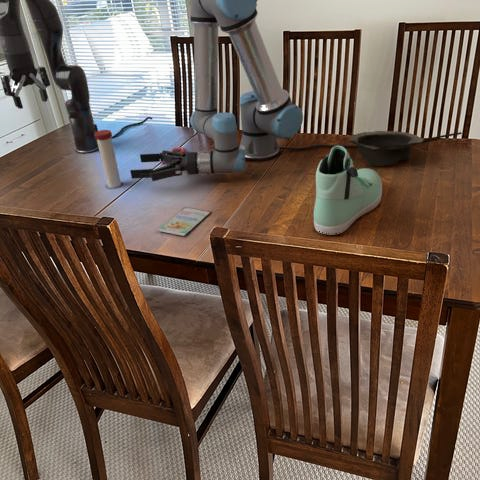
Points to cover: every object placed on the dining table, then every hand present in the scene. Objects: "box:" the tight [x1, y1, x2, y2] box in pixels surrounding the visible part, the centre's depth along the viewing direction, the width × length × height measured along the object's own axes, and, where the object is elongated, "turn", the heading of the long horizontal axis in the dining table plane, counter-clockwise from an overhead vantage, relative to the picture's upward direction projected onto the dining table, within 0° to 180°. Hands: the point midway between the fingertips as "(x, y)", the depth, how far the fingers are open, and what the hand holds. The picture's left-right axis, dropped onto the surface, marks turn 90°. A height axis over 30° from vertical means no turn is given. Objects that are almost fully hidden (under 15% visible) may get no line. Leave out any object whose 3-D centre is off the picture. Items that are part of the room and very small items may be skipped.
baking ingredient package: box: [157, 207, 211, 237], centre depth 139 cm, size 9×1×15 cm
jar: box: [97, 137, 122, 189], centre depth 160 cm, size 5×5×18 cm
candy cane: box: [160, 146, 187, 165], centre depth 183 cm, size 6×15×2 cm, turn 145°
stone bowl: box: [348, 130, 426, 167], centre depth 167 cm, size 25×25×9 cm
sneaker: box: [313, 146, 383, 236], centre depth 133 cm, size 14×35×20 cm, turn 152°
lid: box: [94, 129, 113, 140], centre depth 156 cm, size 5×5×2 cm
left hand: (32, 104), depth 152 cm, fingers open, 8 cm apart
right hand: (136, 166), depth 161 cm, fingers open, 13 cm apart
